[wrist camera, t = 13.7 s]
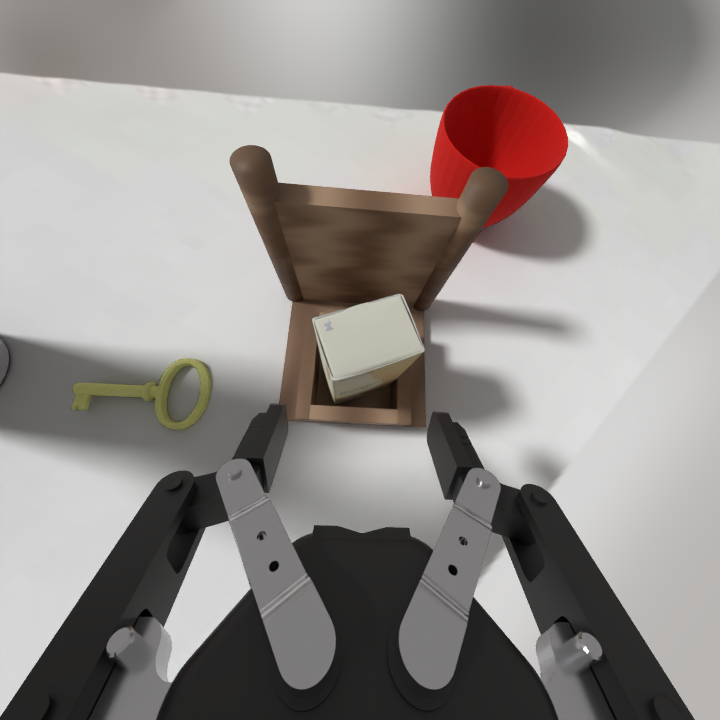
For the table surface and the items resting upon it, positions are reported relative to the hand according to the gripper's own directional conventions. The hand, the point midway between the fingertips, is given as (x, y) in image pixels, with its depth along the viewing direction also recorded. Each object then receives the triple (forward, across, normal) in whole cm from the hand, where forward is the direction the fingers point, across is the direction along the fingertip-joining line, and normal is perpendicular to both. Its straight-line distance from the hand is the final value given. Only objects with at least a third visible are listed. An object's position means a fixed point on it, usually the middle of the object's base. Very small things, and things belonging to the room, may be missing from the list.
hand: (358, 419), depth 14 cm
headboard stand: (+15, 0, +4) cm, 15 cm away
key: (+12, +21, +8) cm, 25 cm away
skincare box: (+12, 0, +5) cm, 13 cm away
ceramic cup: (+32, -14, -12) cm, 37 cm away
